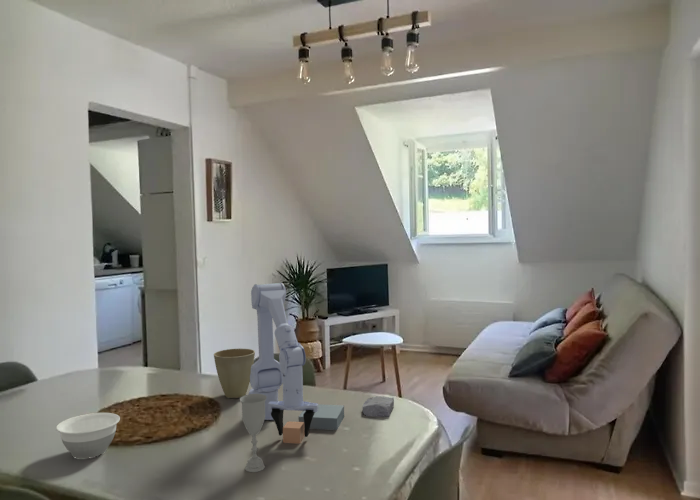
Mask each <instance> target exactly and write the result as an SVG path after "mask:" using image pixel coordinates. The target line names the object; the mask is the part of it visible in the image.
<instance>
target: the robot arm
mask: <svg viewBox="0 0 700 500" xmlns="http://www.w3.org/2000/svg"><path fill="white" fill-rule="evenodd" d="M250 292H251V293H250V296H251V298H250V300H251V308H252V309H253V310H256V316H257V317H256V318H257V320H256V321H257V338H258V339H257V340H258V345H257V346H258V359H257V360H256V361H254V364H253V365H252V366H251V374H250V383H249V385H250V387H251V388H250V390H249V392H248V394H247V395H249V394H263V395H265V396H267V398H266V401H265V419H264V421H274V423H275V426H276V429H277V433H278V436H283V427H284V411H298V412H302V411H306V412H305V413H304V414H303V417H304V425H305V428H304V438H305V437H307V438H308V437H309V435H310V429H309V428H310V424H311V421H312V418H313V416H314V413H315V412H317V411H318V404H319V403H318V402H317V403H316V402H309V401H304V388H303V386H304V385H303V384H304V380H303V375H304V374H303V366H304V365H306V362H307V360H306V359H307V358H306V357H307V356H306V355H307V354H306V351H305V348H304V346H303V345H302V344H301V342H298V338H297V336H296V333H295V330H294V327H293V326H292V325H290V324H289V323H288V318H287V314H286V309H285V305H284V304H285V302H286V297H287V290H286V286H285V285H284V283H283V282H278V283H265V284H262V283H261V284H259V283H258V284H256V283H255V284H253V286H252V287H251V291H250ZM273 323H274V326H275V327H276V329H275V330H274V326H273ZM274 336H275V339H276V342H277V343H276V344H277V346H278V349H279V353H278V355H279V356H278V360H279V361H278V360H276V359H275V352H274V351H275V350H274ZM281 386H282V400H279V390H280V388H281Z"/></svg>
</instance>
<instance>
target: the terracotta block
mask: <svg viewBox="0 0 700 500" xmlns="http://www.w3.org/2000/svg"><path fill="white" fill-rule="evenodd" d="M304 430H305V428H304V422H299V421H288V420H287V422H286V423H285V424H283V434H282V442H283V443H284V444H301V443H302V442H303V440H304V438H305V435H304Z"/></svg>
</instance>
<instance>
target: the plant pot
mask: <svg viewBox="0 0 700 500" xmlns="http://www.w3.org/2000/svg"><path fill="white" fill-rule="evenodd" d="M255 354H256V351H255V350H254V349H251V348H229V349H228V348H227V349H221V350H219V351H215V352H214V353H213V358H214V364H215V365H214V366H215V368H216V374H217V377H218V380H219V384H220V385H221V388H222V391H223V394H224V396H225V398H227V399H238V398H239V399H240V398H241V397H243V396H245V395H247V392H248V390H249V387H250V374H251V366H252V365H253V364H254V363H255V357H256V355H255Z"/></svg>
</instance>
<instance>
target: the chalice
mask: <svg viewBox="0 0 700 500" xmlns="http://www.w3.org/2000/svg"><path fill="white" fill-rule="evenodd" d="M248 394H249V393H248ZM248 394H246V395H245V396H243V397H239V400H240V403H241V415H242V417H241V419H242V421H243V425H244V427H245V428H246V431H247V433H248V434H249V435H252V439H251V445H252V446H251V447H252V448H251V449H250V450H251V451H252V456H250V457H249V458H248V460H247V462H246V465H245V467H244V470H245V471H246V472H249V473H257V472H261V471H263V470H264V469H265V468H266V466H265V464H264V462H263V459H262V458H261V457H260V456H258V455H257V451H258V448H259V447H257V443H258V440H257V435H258V434H260V432H261V430H262V427H263V424H264V422H265V420H264V419H265V401H266V398H267V396H265V395H263V394H249V395H248Z"/></svg>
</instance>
